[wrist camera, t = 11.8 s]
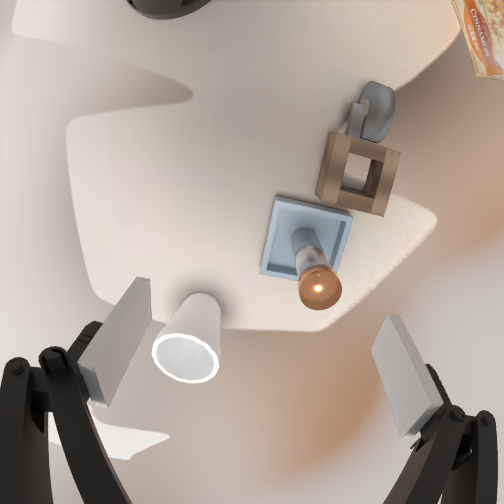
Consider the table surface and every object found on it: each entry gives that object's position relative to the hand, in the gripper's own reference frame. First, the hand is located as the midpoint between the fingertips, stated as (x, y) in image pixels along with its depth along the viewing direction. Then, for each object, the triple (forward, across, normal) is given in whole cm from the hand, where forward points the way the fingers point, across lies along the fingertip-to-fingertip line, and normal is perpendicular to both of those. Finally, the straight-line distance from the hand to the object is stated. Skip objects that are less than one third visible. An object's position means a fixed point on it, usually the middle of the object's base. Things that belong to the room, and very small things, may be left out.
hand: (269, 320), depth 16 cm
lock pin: (+28, +6, -6) cm, 29 cm away
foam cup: (+28, -8, -21) cm, 36 cm away
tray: (+29, +6, -6) cm, 30 cm away
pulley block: (+29, +11, +9) cm, 33 cm away
